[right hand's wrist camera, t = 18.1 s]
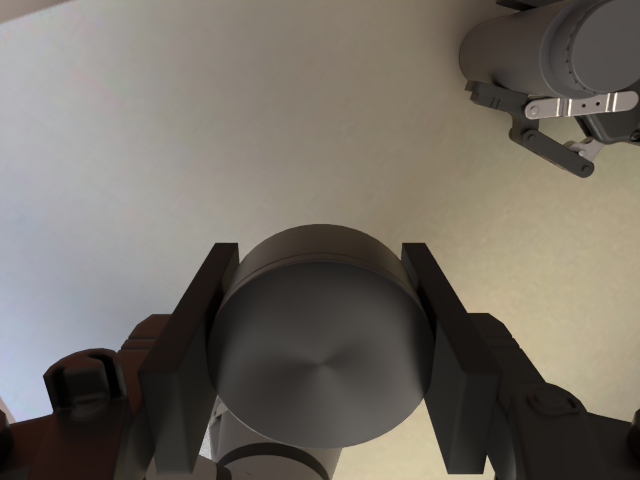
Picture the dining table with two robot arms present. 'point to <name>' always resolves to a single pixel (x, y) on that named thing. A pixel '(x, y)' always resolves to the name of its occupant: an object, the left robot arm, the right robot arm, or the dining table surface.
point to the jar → (558, 49)
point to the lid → (321, 339)
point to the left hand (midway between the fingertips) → (486, 42)
